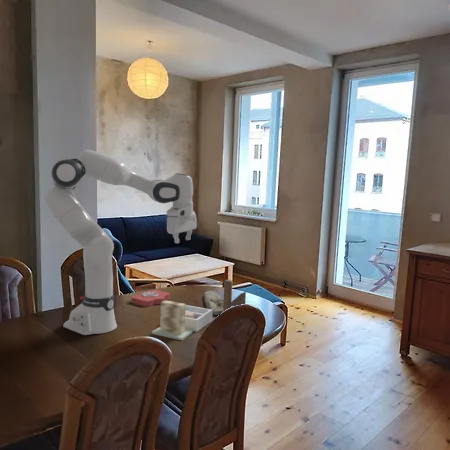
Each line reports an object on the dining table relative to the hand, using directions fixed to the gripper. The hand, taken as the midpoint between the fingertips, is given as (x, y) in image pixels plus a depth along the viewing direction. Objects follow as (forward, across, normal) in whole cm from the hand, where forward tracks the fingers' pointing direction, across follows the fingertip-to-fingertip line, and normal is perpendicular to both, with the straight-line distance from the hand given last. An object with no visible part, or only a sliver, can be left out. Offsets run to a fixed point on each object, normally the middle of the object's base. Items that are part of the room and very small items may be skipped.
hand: (182, 241), depth 186 cm
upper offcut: (+33, +7, +5) cm, 34 cm away
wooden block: (+36, -10, +21) cm, 43 cm away
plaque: (+36, -14, -26) cm, 47 cm away
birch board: (+35, +17, +6) cm, 39 cm away
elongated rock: (+37, -26, +3) cm, 45 cm away
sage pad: (+36, +17, +5) cm, 40 cm away
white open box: (+36, +3, +5) cm, 36 cm away
